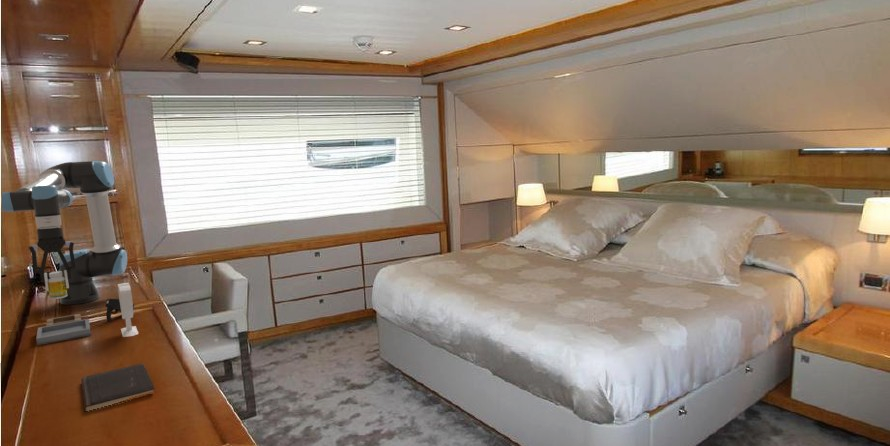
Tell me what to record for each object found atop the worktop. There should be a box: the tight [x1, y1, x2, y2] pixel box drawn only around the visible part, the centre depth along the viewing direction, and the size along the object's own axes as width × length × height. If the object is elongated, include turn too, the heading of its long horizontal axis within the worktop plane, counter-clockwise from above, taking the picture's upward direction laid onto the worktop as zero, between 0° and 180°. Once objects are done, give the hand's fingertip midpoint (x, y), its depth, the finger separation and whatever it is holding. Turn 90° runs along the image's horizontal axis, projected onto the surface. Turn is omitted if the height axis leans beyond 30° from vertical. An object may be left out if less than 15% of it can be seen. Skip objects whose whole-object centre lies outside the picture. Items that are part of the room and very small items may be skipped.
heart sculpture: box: [117, 282, 139, 338], centre depth 200 cm, size 16×5×18 cm, turn 34°
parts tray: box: [36, 318, 92, 346], centre depth 200 cm, size 16×16×2 cm
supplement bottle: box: [48, 270, 67, 300], centre depth 198 cm, size 5×5×10 cm
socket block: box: [45, 313, 82, 326], centre depth 212 cm, size 11×11×2 cm
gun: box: [105, 297, 136, 322], centre depth 221 cm, size 3×16×10 cm, turn 175°
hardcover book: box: [81, 363, 156, 413], centre depth 150 cm, size 16×23×2 cm
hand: (57, 288), depth 199 cm, fingers closed on supplement bottle, 5 cm apart
